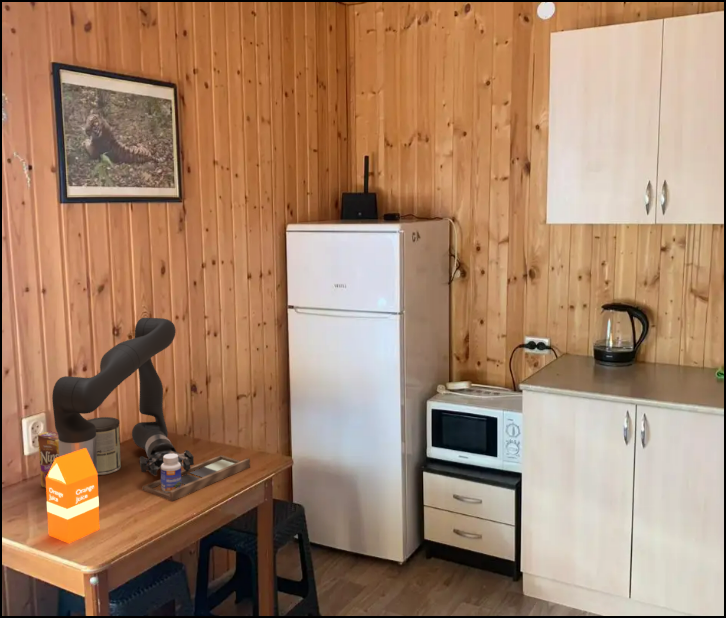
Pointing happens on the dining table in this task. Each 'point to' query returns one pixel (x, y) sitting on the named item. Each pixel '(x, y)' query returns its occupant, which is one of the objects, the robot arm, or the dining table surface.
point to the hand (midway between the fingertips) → (171, 470)
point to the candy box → (47, 453)
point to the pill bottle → (170, 473)
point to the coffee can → (107, 444)
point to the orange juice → (72, 497)
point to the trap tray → (207, 473)
